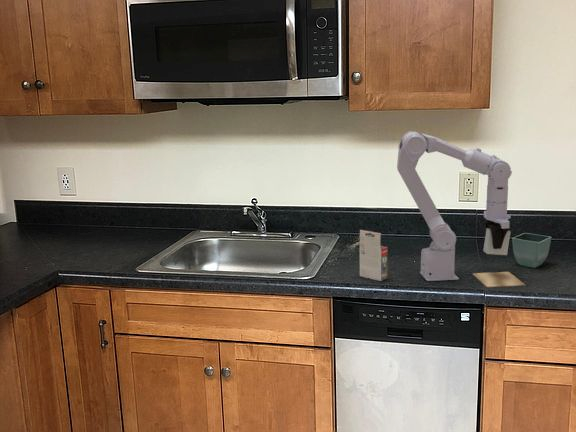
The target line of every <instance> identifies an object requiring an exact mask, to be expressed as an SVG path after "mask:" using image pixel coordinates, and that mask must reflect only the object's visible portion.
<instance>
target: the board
mask: <svg viewBox="0 0 576 432" xmlns="http://www.w3.org/2000/svg"><path fill="white" fill-rule="evenodd" d="M472 275H473V276H474V277H475V279H477V280H478V281H479V282H481V284H483V286H485V287H486V288H501V287H502V288H503V287H519V286H526V284H525V283H524V282H522V280H520V279H519V278H518V277H516V276H515V275H513V274H512V273H511V272H509V271H500V272H499V271H498V272H497V271H495V272H494V271H493V272H473V273H472Z"/></svg>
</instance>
